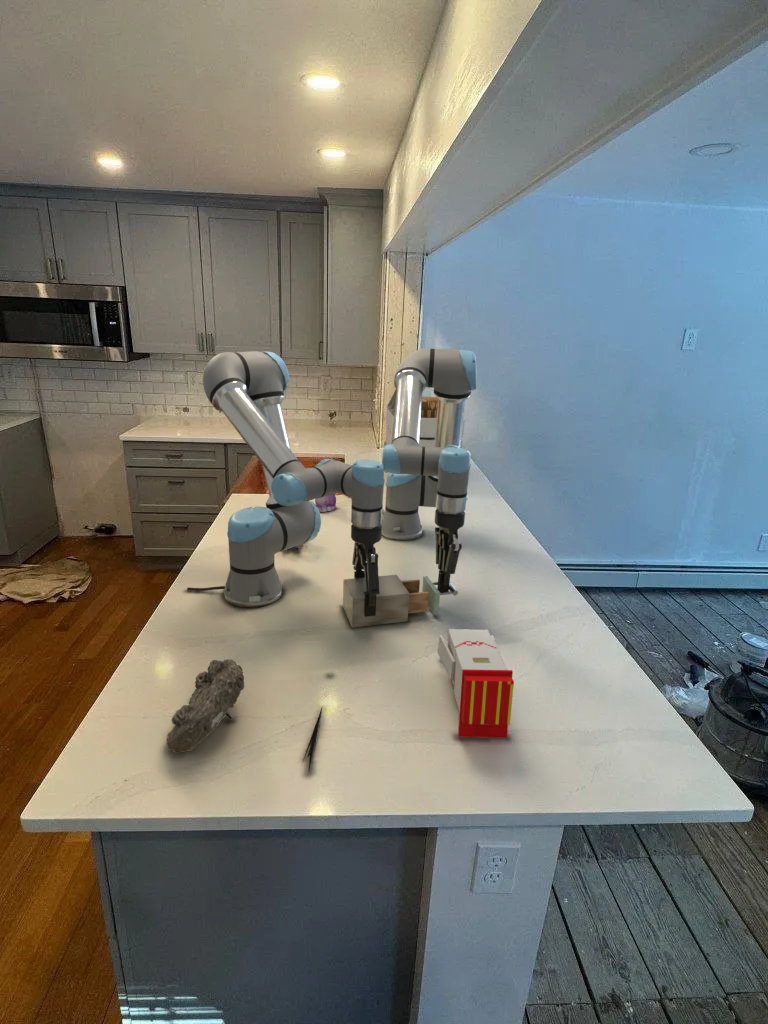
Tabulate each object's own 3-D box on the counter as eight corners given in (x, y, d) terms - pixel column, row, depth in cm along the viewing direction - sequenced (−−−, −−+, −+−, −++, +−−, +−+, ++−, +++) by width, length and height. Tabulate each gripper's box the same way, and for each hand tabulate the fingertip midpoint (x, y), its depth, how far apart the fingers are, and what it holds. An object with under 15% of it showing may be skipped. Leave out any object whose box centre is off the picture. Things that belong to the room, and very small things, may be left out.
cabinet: (395, 601, 154) (396, 574, 151) (407, 621, 144) (409, 593, 141) (342, 606, 150) (343, 579, 147) (351, 627, 140) (352, 599, 138)
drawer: (445, 593, 157) (447, 574, 155) (458, 610, 148) (460, 590, 146) (379, 600, 152) (380, 580, 150) (389, 618, 143) (390, 597, 141)
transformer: (382, 463, 289) (386, 382, 275) (445, 464, 293) (451, 384, 279) (390, 482, 257) (394, 392, 243) (460, 483, 261) (468, 394, 247)
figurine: (318, 514, 215) (318, 476, 210) (309, 505, 223) (309, 469, 218) (341, 511, 219) (342, 473, 214) (331, 503, 227) (331, 467, 222)
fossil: (192, 660, 117) (244, 628, 112) (224, 691, 120) (276, 661, 115) (142, 746, 98) (202, 712, 93) (182, 779, 101) (242, 748, 96)
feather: (331, 679, 122) (336, 673, 122) (307, 777, 96) (313, 769, 95) (324, 675, 122) (329, 669, 121) (298, 772, 95) (304, 764, 95)
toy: (488, 613, 130) (523, 677, 101) (484, 667, 133) (517, 744, 104) (435, 612, 130) (455, 676, 101) (432, 666, 133) (451, 743, 103)
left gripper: (395, 541, 128) (391, 626, 136) (369, 507, 149) (367, 582, 157) (363, 543, 126) (360, 629, 134) (341, 509, 147) (340, 584, 155)
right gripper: (474, 518, 138) (465, 604, 146) (454, 501, 150) (446, 581, 158) (446, 519, 136) (438, 606, 144) (427, 502, 148) (421, 583, 156)
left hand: (364, 604), depth 145 cm, fingers closed on cabinet, 11 cm apart
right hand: (442, 593), depth 151 cm, fingers closed
